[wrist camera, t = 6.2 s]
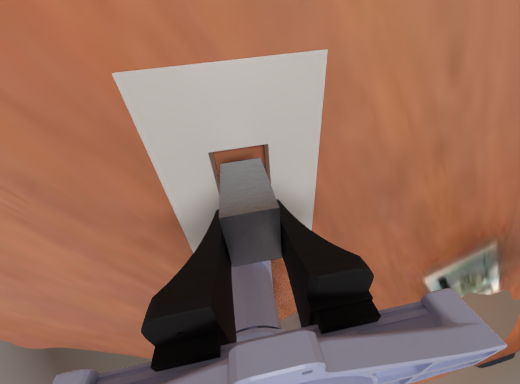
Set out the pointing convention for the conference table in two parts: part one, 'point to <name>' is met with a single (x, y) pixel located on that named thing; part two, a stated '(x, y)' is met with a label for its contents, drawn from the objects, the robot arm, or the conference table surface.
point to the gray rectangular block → (249, 213)
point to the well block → (230, 127)
